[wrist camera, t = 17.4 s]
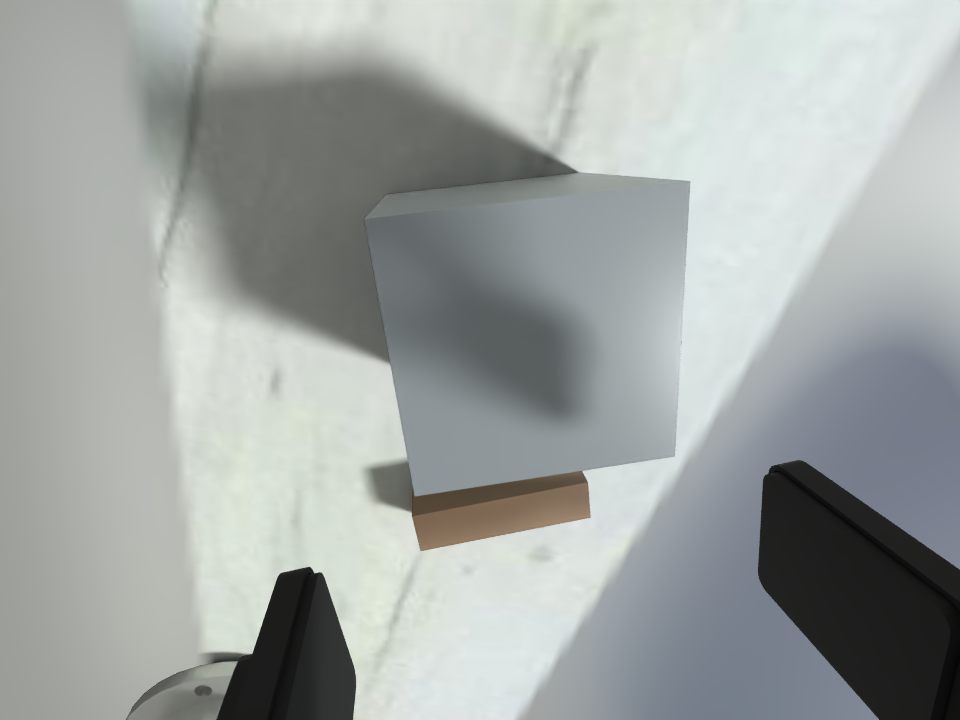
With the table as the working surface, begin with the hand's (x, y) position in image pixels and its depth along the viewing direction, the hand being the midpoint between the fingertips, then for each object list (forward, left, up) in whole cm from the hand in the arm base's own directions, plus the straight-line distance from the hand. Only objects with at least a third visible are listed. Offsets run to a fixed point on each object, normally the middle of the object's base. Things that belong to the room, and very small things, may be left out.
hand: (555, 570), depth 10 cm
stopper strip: (-7, 0, -13) cm, 15 cm away
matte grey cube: (+3, -1, -13) cm, 13 cm away
